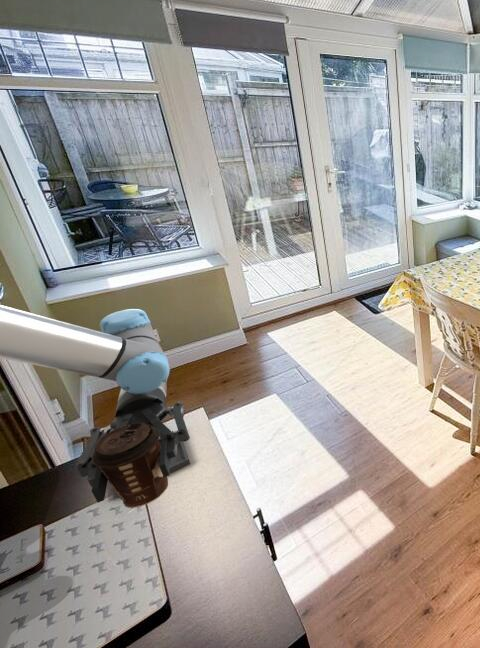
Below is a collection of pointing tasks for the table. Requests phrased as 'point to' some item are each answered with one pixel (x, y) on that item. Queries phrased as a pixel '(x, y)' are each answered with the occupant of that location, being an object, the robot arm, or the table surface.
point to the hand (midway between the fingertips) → (132, 482)
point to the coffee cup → (132, 463)
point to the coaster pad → (179, 457)
